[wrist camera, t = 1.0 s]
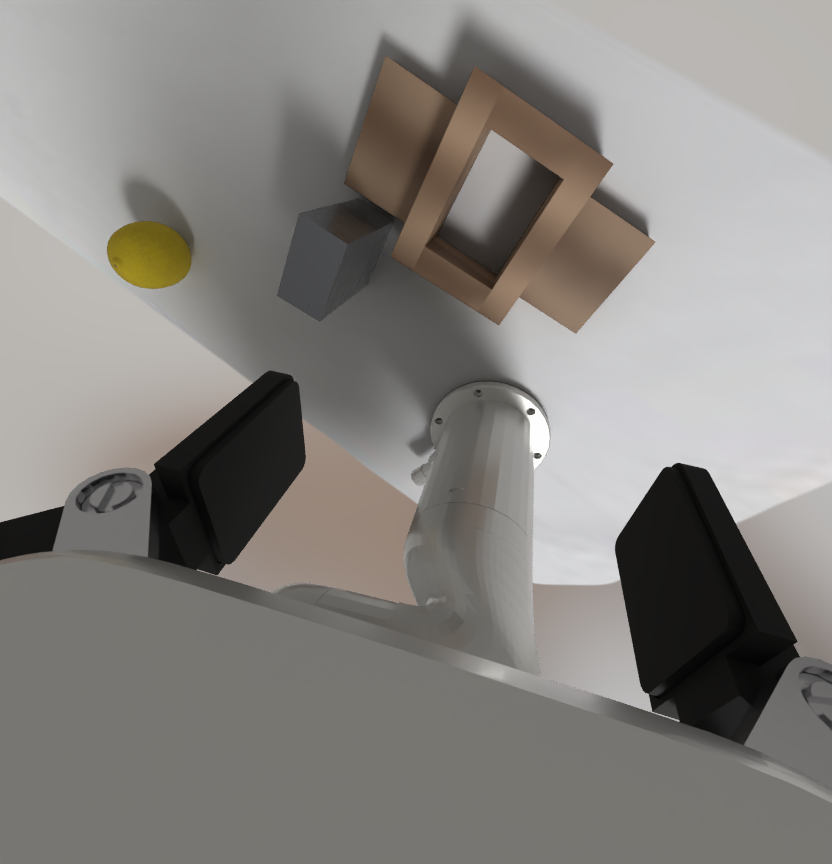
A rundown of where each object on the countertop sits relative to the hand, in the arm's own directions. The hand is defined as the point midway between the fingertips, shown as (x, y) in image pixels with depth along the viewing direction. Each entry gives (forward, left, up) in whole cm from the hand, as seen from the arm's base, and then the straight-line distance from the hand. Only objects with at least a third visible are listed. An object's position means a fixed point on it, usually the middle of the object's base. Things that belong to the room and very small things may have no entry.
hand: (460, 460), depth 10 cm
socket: (+1, +3, -27) cm, 28 cm away
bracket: (-9, +9, -27) cm, 30 cm away
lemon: (-23, +22, -28) cm, 42 cm away
